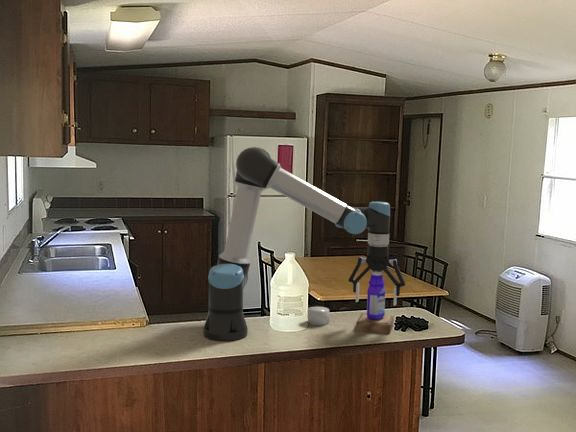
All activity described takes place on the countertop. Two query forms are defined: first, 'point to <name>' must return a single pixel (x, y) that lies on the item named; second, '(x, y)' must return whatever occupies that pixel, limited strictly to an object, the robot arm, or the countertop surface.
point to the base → (375, 324)
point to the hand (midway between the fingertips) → (375, 303)
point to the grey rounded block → (318, 315)
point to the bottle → (376, 296)
